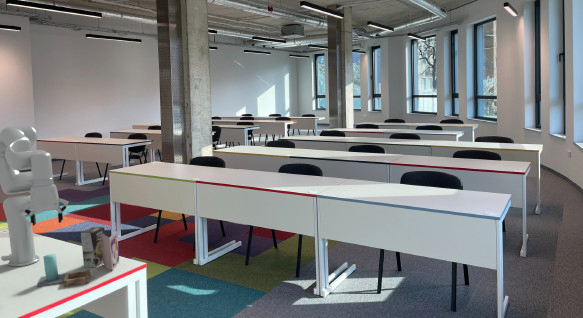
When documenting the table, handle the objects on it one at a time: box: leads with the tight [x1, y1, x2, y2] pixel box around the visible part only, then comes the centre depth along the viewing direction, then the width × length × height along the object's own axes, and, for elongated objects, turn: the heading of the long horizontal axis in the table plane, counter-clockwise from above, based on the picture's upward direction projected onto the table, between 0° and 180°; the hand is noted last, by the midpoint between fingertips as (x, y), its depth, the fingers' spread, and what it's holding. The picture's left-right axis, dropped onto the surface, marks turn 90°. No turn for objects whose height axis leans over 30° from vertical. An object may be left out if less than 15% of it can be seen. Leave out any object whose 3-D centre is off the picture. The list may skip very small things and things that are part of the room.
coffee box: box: [80, 226, 106, 268], centre depth 216 cm, size 9×6×16 cm
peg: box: [43, 253, 59, 281], centre depth 198 cm, size 5×5×10 cm
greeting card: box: [100, 230, 120, 272], centre depth 211 cm, size 11×7×15 cm, turn 5°
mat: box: [36, 272, 67, 288], centre depth 198 cm, size 10×10×1 cm
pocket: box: [63, 269, 91, 288], centre depth 197 cm, size 9×9×2 cm
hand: (47, 223), depth 197 cm, fingers open, 9 cm apart
